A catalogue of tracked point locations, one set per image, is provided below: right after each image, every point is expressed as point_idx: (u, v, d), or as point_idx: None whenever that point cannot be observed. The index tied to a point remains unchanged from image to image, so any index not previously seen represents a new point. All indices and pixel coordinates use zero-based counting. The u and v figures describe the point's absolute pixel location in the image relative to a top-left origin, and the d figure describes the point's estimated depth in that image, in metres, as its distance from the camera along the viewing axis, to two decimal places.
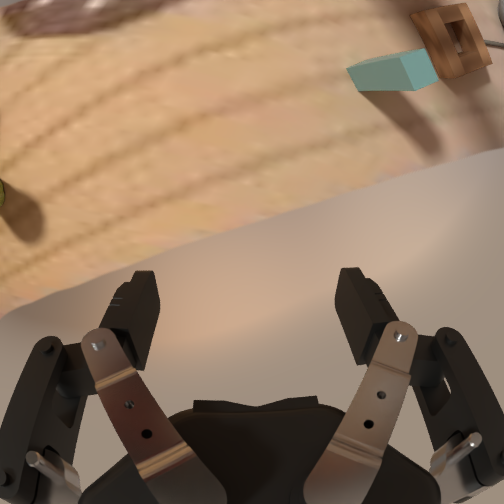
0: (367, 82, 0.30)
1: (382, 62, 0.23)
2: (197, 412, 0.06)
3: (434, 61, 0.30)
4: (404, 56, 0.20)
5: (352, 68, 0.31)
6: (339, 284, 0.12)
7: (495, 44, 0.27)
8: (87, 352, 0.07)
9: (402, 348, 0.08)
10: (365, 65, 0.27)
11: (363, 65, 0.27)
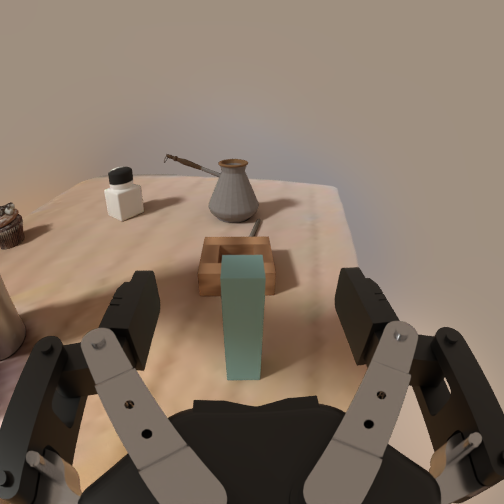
0: (250, 357, 0.29)
1: (224, 312, 0.25)
2: (197, 412, 0.06)
3: None
4: (222, 274, 0.24)
5: (228, 369, 0.30)
6: (339, 284, 0.12)
7: (252, 233, 0.59)
8: (87, 352, 0.07)
9: (402, 348, 0.08)
10: (226, 345, 0.28)
11: (226, 348, 0.28)
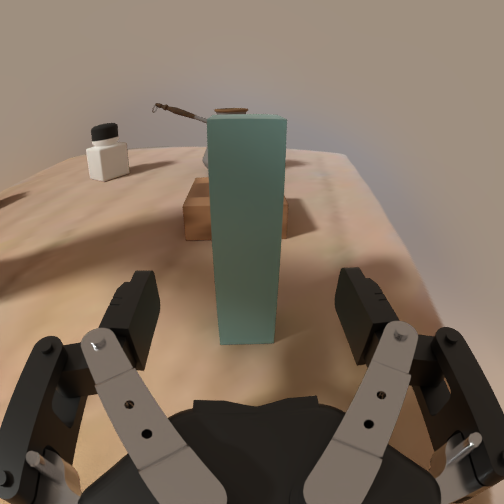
0: (258, 295, 0.17)
1: (213, 193, 0.14)
2: (197, 412, 0.06)
3: None
4: (210, 118, 0.13)
5: (221, 323, 0.18)
6: (339, 284, 0.12)
7: None
8: (87, 352, 0.07)
9: (402, 348, 0.08)
10: (217, 269, 0.16)
11: (216, 276, 0.16)
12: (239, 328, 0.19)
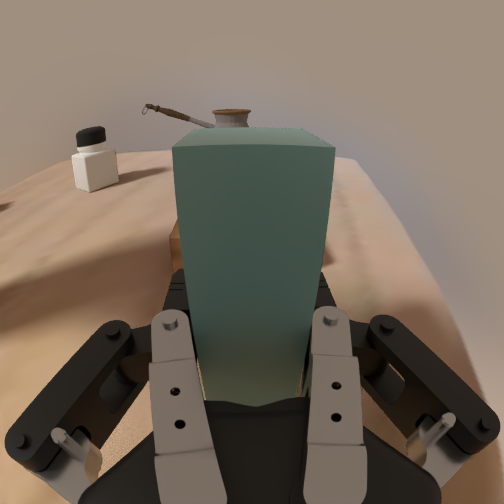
0: (268, 403, 0.11)
1: (193, 284, 0.08)
2: None
3: None
4: (181, 143, 0.07)
5: None
6: None
7: None
8: (155, 330, 0.08)
9: (337, 332, 0.08)
10: (207, 379, 0.10)
11: (207, 386, 0.10)
12: None
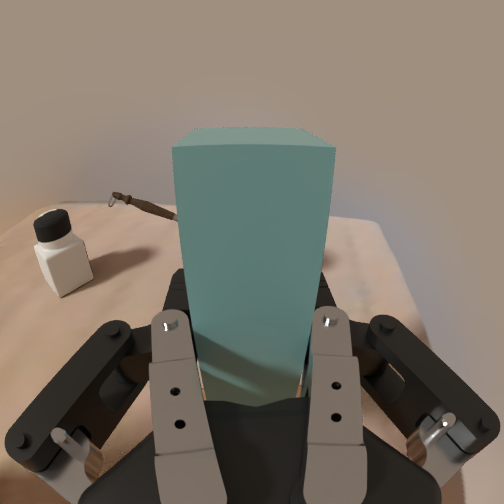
0: (268, 403, 0.11)
1: (193, 285, 0.08)
2: None
3: None
4: (182, 143, 0.07)
5: None
6: None
7: None
8: (155, 330, 0.08)
9: (337, 332, 0.08)
10: (207, 379, 0.10)
11: (207, 386, 0.10)
12: None
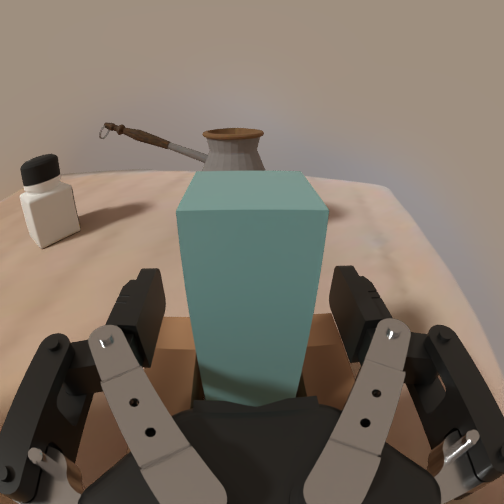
0: None
1: (198, 325, 0.09)
2: (197, 412, 0.06)
3: None
4: (185, 202, 0.07)
5: None
6: (333, 282, 0.12)
7: None
8: (94, 348, 0.08)
9: (395, 345, 0.08)
10: None
11: None
12: None
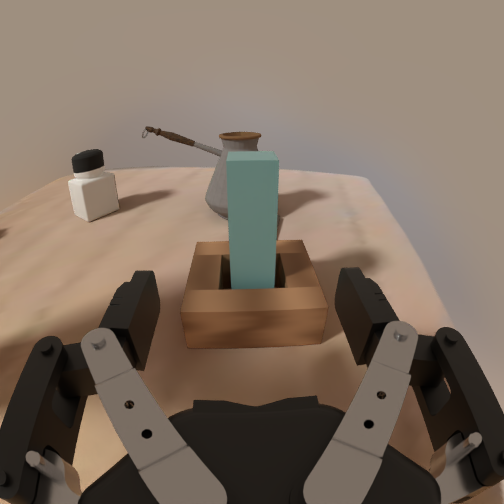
0: (261, 279, 0.24)
1: (230, 209, 0.21)
2: (197, 412, 0.06)
3: (287, 341, 0.23)
4: (228, 159, 0.20)
5: None
6: (339, 284, 0.12)
7: None
8: (87, 352, 0.07)
9: (402, 348, 0.08)
10: (232, 260, 0.23)
11: (232, 266, 0.24)
12: None
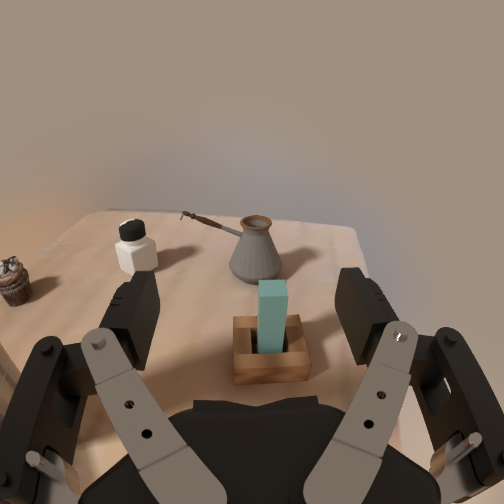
0: (275, 347, 0.42)
1: (260, 317, 0.39)
2: (197, 412, 0.06)
3: (289, 379, 0.41)
4: (260, 293, 0.38)
5: None
6: (339, 284, 0.12)
7: None
8: (87, 352, 0.07)
9: (402, 348, 0.08)
10: (260, 339, 0.41)
11: (259, 341, 0.42)
12: None
